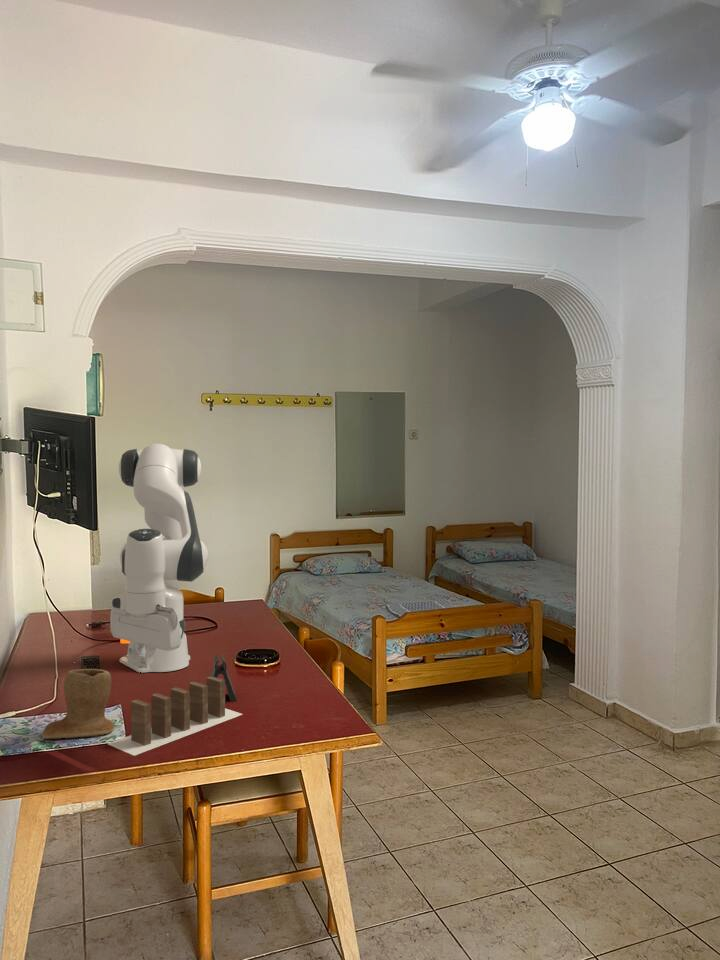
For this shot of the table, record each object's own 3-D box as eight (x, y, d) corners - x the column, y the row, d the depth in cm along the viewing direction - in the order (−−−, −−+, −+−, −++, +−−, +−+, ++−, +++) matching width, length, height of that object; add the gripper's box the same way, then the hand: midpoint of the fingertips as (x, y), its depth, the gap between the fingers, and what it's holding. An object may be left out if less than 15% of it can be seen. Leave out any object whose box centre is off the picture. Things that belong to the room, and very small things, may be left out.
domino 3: (184, 731, 178) (184, 693, 178) (170, 726, 181) (170, 688, 181) (189, 729, 179) (189, 691, 179) (176, 724, 182) (176, 687, 182)
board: (106, 748, 170) (106, 743, 170) (215, 708, 196) (215, 705, 196) (134, 760, 164) (134, 755, 164) (243, 718, 189) (243, 714, 189)
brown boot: (116, 722, 186) (116, 661, 185) (112, 741, 174) (112, 676, 174) (50, 726, 182) (49, 665, 182) (41, 746, 171) (41, 680, 170)
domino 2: (165, 738, 174) (165, 699, 173) (151, 732, 177) (151, 694, 176) (170, 736, 175) (170, 697, 174) (157, 730, 178) (157, 693, 178)
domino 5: (220, 717, 187) (220, 681, 186) (206, 713, 190) (206, 677, 189) (225, 716, 188) (225, 680, 188) (211, 711, 191) (211, 676, 191)
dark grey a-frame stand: (236, 697, 205) (236, 653, 204) (237, 705, 199) (238, 659, 198) (201, 699, 202) (202, 655, 202) (202, 707, 197) (202, 661, 196)
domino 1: (144, 745, 169) (144, 706, 169) (131, 740, 172) (131, 701, 172) (150, 743, 171) (150, 704, 170) (137, 737, 174) (137, 699, 173)
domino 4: (202, 724, 182) (202, 687, 182) (189, 719, 185) (189, 683, 185) (207, 722, 184) (207, 685, 183) (194, 717, 187) (194, 681, 186)
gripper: (187, 606, 168) (187, 667, 168) (127, 594, 179) (128, 651, 180) (165, 611, 162) (165, 675, 163) (105, 598, 174) (105, 658, 175)
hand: (145, 662), depth 172 cm, fingers closed
